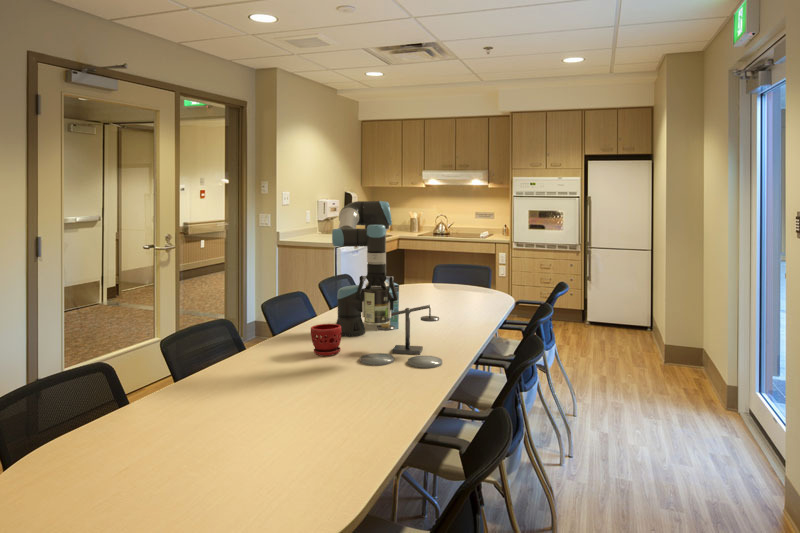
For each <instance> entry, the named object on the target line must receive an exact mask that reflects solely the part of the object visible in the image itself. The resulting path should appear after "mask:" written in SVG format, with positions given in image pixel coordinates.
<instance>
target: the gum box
mask: <svg viewBox="0 0 800 533" xmlns="http://www.w3.org/2000/svg"><path fill="white" fill-rule="evenodd" d="M386 282H387V283H388V284H389V288H391V287H390V283H389V282H388V280H387V279H386ZM394 286H395V289H396V292H397V296H398V300H397V301H394V309H393V310H391V313H393V312H398V311H400V304H399V303H400V284H398V283H396V282H394ZM392 297H393V294H392ZM393 298H394V297H393ZM399 315H400V314H399ZM399 315H394V316H391V318H389V320H390V325H393V326H395V329H394V330H398V329H399V324H400V323H399V319H400V318H399Z"/></svg>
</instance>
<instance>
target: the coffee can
mask: <svg viewBox="0 0 800 533" xmlns="http://www.w3.org/2000/svg"><path fill="white" fill-rule="evenodd" d="M363 289H364V316H365V317H364V322H363V324H366V325H371V326H379V325H384V324H388V323H389V318H388V302H389V299H388V292H389V288H388V289H385V290H383V288H382V287H371V288H370V289H366V287H364V288H363Z"/></svg>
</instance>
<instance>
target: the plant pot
mask: <svg viewBox="0 0 800 533" xmlns="http://www.w3.org/2000/svg"><path fill="white" fill-rule="evenodd" d="M310 337H311V342H312V346H313V347H314V348H313V352H314V354H316V355H318V356H325V357H326V356H327V357H328V356H336V355H337V354H339V353H340V352H341V347H340V344H341V341H342V336H341V326H340V325H338V324H336V323H320V324H316V325H313V326H311V327H310ZM335 354H336V355H335Z"/></svg>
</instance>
